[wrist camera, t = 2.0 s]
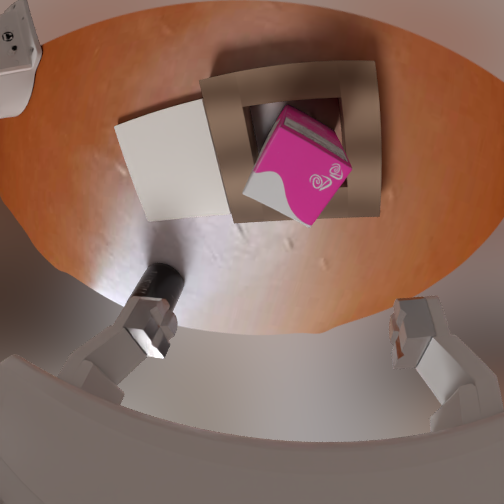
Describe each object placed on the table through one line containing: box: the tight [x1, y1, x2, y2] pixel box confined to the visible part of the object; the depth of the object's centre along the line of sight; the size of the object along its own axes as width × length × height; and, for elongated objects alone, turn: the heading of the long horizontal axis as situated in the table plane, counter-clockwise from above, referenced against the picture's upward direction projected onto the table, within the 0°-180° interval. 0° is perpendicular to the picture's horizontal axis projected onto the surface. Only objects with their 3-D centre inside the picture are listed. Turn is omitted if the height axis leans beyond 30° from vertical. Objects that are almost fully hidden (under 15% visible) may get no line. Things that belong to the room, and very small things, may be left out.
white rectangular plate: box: [114, 99, 231, 222], centre depth 31 cm, size 14×12×1 cm
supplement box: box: [242, 104, 352, 228], centre depth 22 cm, size 6×6×12 cm
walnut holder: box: [199, 60, 382, 223], centre depth 25 cm, size 16×16×3 cm
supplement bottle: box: [127, 263, 184, 312], centre depth 39 cm, size 7×7×12 cm
